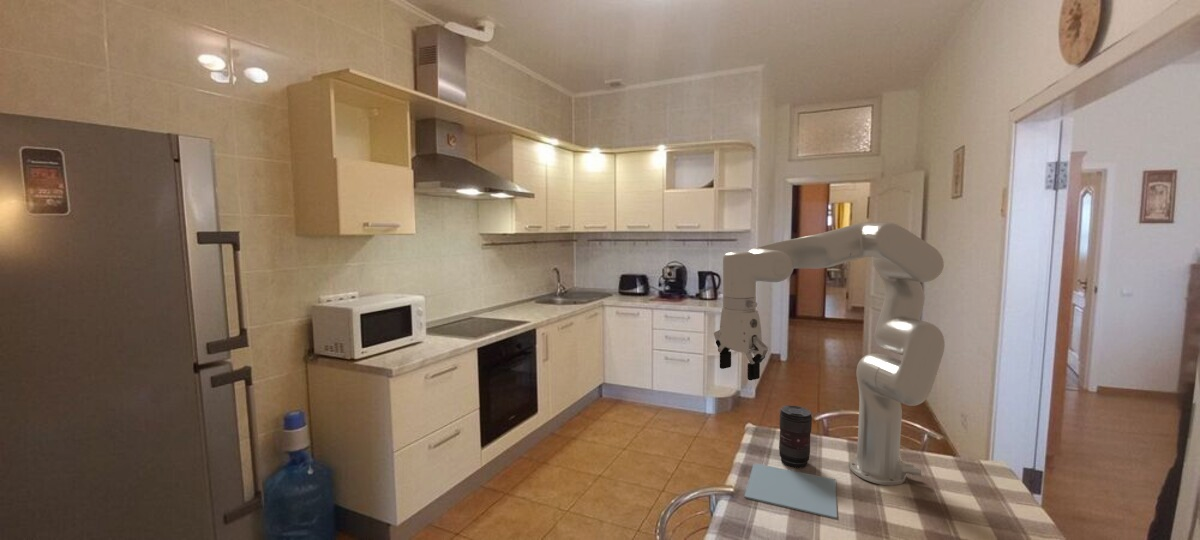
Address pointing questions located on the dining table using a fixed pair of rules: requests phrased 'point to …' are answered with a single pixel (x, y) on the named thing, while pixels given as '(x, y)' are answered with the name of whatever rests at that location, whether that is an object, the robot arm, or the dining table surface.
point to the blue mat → (793, 490)
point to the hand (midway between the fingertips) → (739, 373)
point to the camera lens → (795, 436)
